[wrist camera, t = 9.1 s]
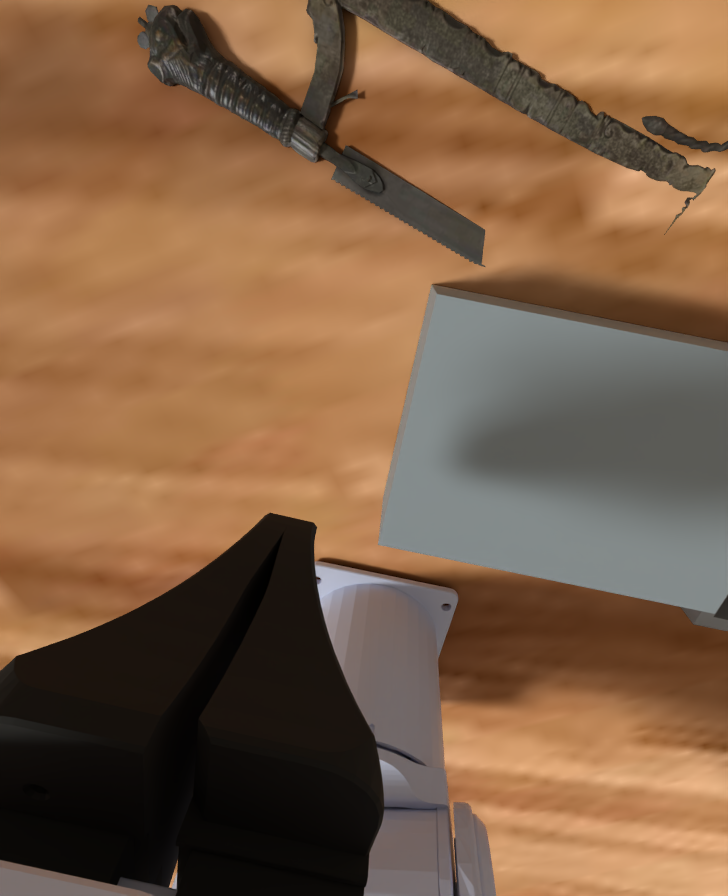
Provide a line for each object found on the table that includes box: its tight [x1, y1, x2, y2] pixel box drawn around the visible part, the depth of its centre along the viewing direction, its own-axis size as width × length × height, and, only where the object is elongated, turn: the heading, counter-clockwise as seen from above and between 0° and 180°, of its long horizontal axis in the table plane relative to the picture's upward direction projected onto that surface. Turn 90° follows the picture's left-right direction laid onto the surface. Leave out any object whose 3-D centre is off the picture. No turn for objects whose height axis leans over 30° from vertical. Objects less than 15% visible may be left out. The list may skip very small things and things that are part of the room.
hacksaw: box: [138, 0, 728, 267], centre depth 15 cm, size 24×10×2 cm, turn 62°
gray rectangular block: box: [378, 284, 728, 614], centre depth 18 cm, size 10×14×4 cm
